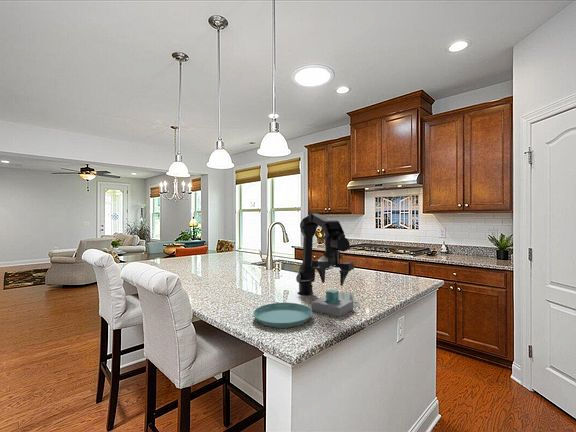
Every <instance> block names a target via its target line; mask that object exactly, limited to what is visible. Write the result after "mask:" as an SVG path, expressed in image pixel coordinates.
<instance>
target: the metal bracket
mask: <svg viewBox="0 0 576 432" xmlns="http://www.w3.org/2000/svg"><path fill="white" fill-rule="evenodd" d="M338 297H339V298H340V299H346V300H351V301H353V308H357V307H358V308H360V303H356V301H355V293H354V292H352V291H351V290H349V291H348V292H345V291H344V292H343V290H341V291H338Z"/></svg>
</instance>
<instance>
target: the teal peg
mask: <svg viewBox="0 0 576 432" xmlns="http://www.w3.org/2000/svg"><path fill="white" fill-rule="evenodd" d="M338 292H339V290H335V289H328V290H326V291H325V296H326V302H327V303H331V304H336V303H339V297H338Z"/></svg>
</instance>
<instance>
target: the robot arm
mask: <svg viewBox="0 0 576 432" xmlns="http://www.w3.org/2000/svg"><path fill="white" fill-rule="evenodd" d="M318 227H321V231H322V232H323V233H324V235H323V239H325V241H324V245H325V246H324V250H325V251H323V255H322V256H320V258H318V259H313V245H314V244H313V242H314V241H313V239H314V236H315V235H316V233H317V228H318ZM299 228H300V232H301V234H302V236H303V242H302V243H303V244H302V245H303V246H302V263H301V265H300V267H299V269H298V273H297V275H296V282H297V283H298V290H299V291H298V292H297V294H298V295H303V296H309V295H311V294H313V293H314V291H313V283H314V282H315V279H316V271H317V272H318V275H319V278H320V280H321V283H322V284H324V283H325V281H326V269H330V268H339V269H340V270H338V271H339V273H340V278H339V279H340V280H339V281H340V287H342V286H344V284H345V280H346V278H347V276H348V274H349V272H351V271H352V270H354V269H355V264H354V263H353V262H350V261H349V262H348V261H344V262H341V260H340V259H339V254H341V252H347V251H348V250H349V248H350V241H349V240H348V238H347V237H346V234H345V232H344V229H343V227H342V225H341V223H340V221H339V220H338V219H337V220H336V219H328V218H327V217H326V216H323V215H321V214H320V213H318V212H310V213H309V214H308V215H307V216H305V217H304V218H303V219H302V220H301V221H300V223H299Z"/></svg>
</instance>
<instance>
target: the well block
mask: <svg viewBox="0 0 576 432" xmlns="http://www.w3.org/2000/svg"><path fill="white" fill-rule="evenodd" d="M311 310H312V312H314V313H321V314H324V315H328V316H332V317H333V316H334V317H337V318H341V317H343V316H344V315H346V314H348V313H350V312H352V311H353V310H354V307H353V301H351V300H346V299H340V298H339V303H336V304H331V303H327V302H326V295H324V296H322V297H320V298H317V299H315V300H313V301H311Z"/></svg>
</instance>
